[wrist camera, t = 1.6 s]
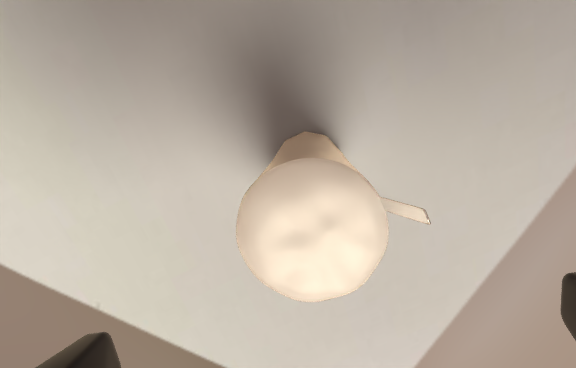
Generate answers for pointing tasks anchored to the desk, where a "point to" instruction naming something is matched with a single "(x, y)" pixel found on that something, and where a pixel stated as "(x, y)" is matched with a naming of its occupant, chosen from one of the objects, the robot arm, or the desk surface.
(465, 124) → the desk surface
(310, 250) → the milkshake
